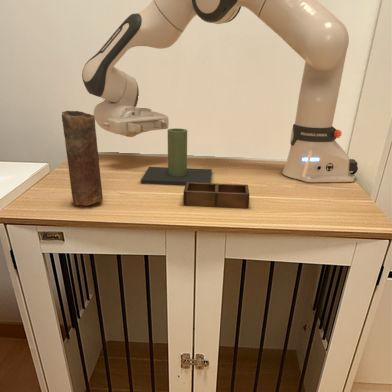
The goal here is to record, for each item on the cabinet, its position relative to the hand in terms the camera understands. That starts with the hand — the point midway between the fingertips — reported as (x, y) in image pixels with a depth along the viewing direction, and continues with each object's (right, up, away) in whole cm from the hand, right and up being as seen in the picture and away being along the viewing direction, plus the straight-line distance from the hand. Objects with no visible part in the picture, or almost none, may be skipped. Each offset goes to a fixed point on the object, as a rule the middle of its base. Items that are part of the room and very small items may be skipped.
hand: (153, 127), depth 124 cm
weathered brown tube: (-14, -31, -21) cm, 40 cm away
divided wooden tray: (+18, -29, -17) cm, 38 cm away
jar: (+7, -14, 0) cm, 16 cm away
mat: (+7, -15, +1) cm, 17 cm away
